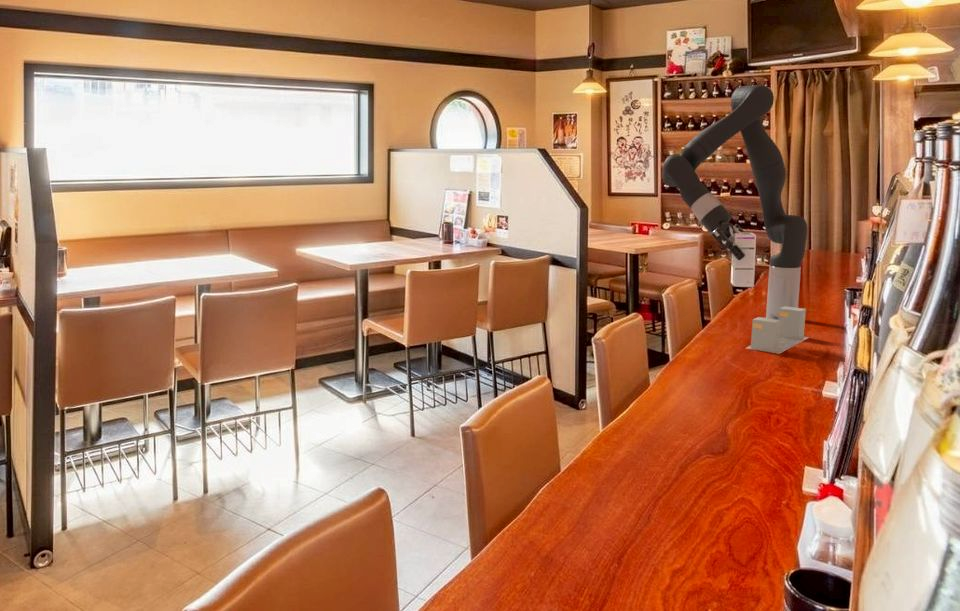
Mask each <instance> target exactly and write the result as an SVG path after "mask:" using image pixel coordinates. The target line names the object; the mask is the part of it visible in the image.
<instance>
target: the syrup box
mask: <svg viewBox="0 0 960 611" xmlns="http://www.w3.org/2000/svg"><path fill="white" fill-rule="evenodd" d="M734 241H735V243H736V245H737V246H738V247H739V248H740V249H741V251H742V252H743V253H744V254H745V257H744V258H742V259H741V260H738V259H737V258H736V257H735V256H734V255H733V254H732V253H731V265H730V266H731V267H730V284H731V285H732V287H739V288H754V285H755V275H756V274H755V273H756V272H755V271H756V254H757V253H756V251H757V249H756V247H757V246H756V245H757V235H756V234H755V233H753V232H746V231H744V232H741V233H734ZM736 245H735V246H736ZM755 253H756V254H755Z"/></svg>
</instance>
